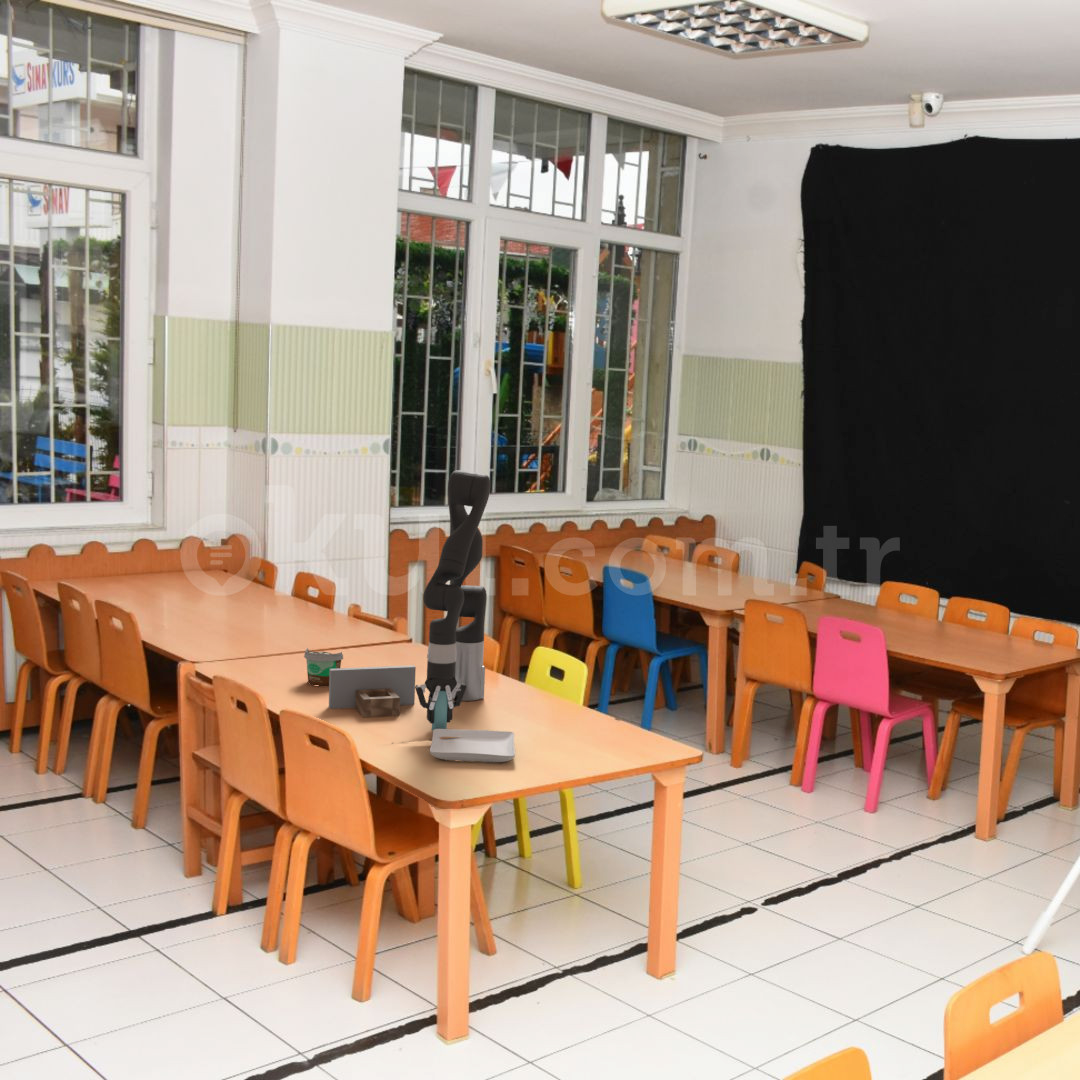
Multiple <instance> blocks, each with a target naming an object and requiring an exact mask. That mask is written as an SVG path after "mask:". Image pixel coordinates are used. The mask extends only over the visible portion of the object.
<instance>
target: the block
mask: <svg viewBox="0 0 1080 1080" xmlns="http://www.w3.org/2000/svg"><path fill="white" fill-rule="evenodd" d="M400 707H401V705H400V697H399V696H398V695H397V694H396V693H395V692H394V691H393V690H392V689H391V688H390V689H369V690H356V701H355V709H356V710H357V712H358V713H359V714H360V715H361V716H362V718H374V717H377V718H379V717H395V716H400Z"/></svg>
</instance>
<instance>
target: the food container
mask: <svg viewBox="0 0 1080 1080" xmlns="http://www.w3.org/2000/svg"><path fill="white" fill-rule="evenodd" d="M303 657H304V659H306V669H307V670H306V671H307V672H306V674H307V683H308V682H309V683H310V684H313V685H319V686H318V687H320V686H327V687H329V673H330V669H337V668H342V667H341V665H342V660H344V655H343V652H342V651H341V652H337V653H331V652H328V651H311V650H309V648H308V647H307V648H306V649H305V651H304V654H303ZM309 683H308V684H309ZM310 684H309V685H310ZM313 685H312V686H313Z"/></svg>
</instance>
